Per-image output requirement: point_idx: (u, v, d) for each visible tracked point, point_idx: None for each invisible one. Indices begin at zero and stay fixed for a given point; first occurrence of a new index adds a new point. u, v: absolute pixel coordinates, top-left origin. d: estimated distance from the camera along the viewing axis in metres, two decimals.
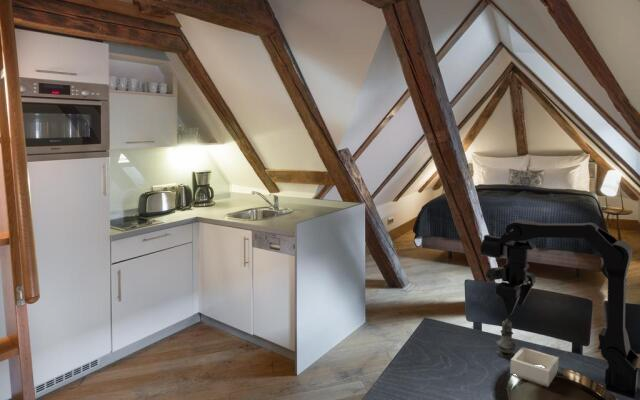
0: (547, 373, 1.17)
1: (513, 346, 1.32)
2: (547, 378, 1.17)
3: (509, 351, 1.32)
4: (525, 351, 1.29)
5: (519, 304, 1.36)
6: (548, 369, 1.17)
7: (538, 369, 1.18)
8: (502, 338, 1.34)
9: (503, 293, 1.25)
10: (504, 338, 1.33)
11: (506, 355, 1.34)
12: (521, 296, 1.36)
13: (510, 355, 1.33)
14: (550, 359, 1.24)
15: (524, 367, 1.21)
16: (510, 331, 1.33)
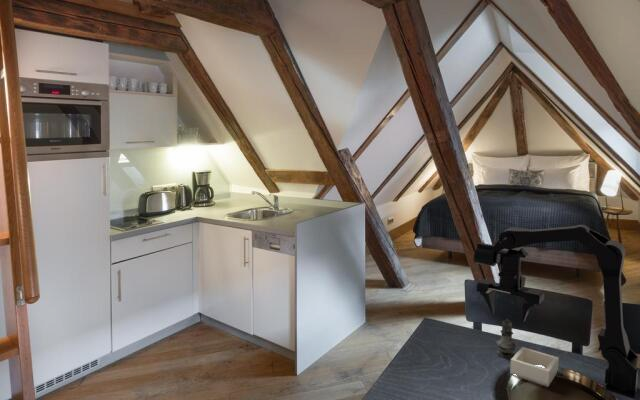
0: (547, 373, 1.17)
1: (513, 346, 1.32)
2: (547, 378, 1.17)
3: (509, 351, 1.32)
4: (525, 351, 1.29)
5: None
6: (548, 369, 1.17)
7: (538, 369, 1.18)
8: (502, 338, 1.34)
9: None
10: (504, 338, 1.33)
11: (506, 355, 1.34)
12: None
13: (510, 355, 1.33)
14: (550, 359, 1.24)
15: (524, 367, 1.21)
16: (510, 331, 1.33)
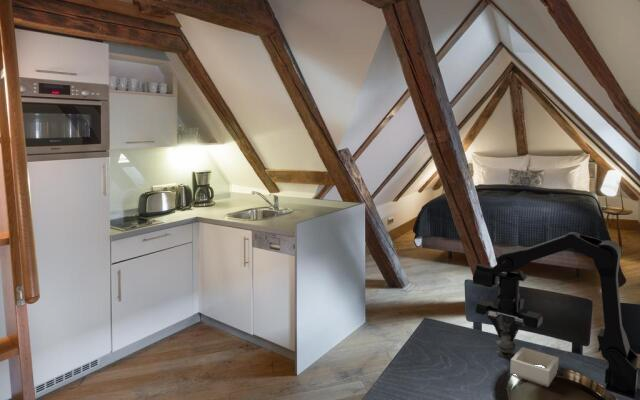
0: (547, 373, 1.17)
1: (513, 346, 1.32)
2: (547, 378, 1.17)
3: (509, 351, 1.32)
4: (525, 351, 1.29)
5: None
6: (548, 369, 1.17)
7: (538, 369, 1.18)
8: (502, 338, 1.34)
9: None
10: (504, 338, 1.33)
11: (506, 355, 1.34)
12: None
13: (510, 355, 1.33)
14: (550, 359, 1.24)
15: (524, 367, 1.21)
16: (510, 331, 1.33)
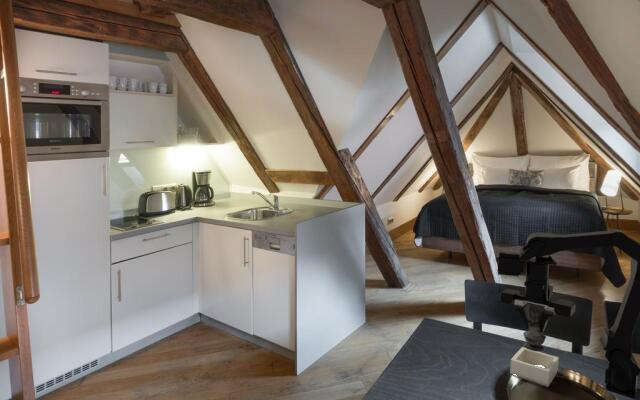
0: (547, 373, 1.17)
1: (542, 338, 1.21)
2: (547, 378, 1.17)
3: (538, 343, 1.21)
4: (525, 351, 1.29)
5: None
6: (548, 369, 1.17)
7: (538, 369, 1.18)
8: (530, 329, 1.23)
9: None
10: (533, 330, 1.22)
11: (534, 347, 1.22)
12: None
13: (539, 348, 1.22)
14: (550, 359, 1.24)
15: (524, 367, 1.21)
16: (539, 321, 1.21)
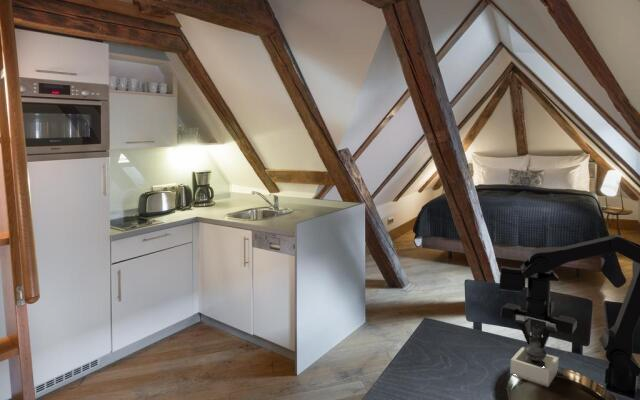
0: (547, 373, 1.17)
1: (544, 353, 1.21)
2: (547, 378, 1.17)
3: (539, 359, 1.21)
4: None
5: None
6: (548, 369, 1.17)
7: (538, 369, 1.18)
8: (531, 344, 1.22)
9: None
10: (534, 345, 1.22)
11: (535, 363, 1.22)
12: None
13: (540, 363, 1.22)
14: (550, 359, 1.24)
15: (524, 367, 1.21)
16: (540, 337, 1.21)
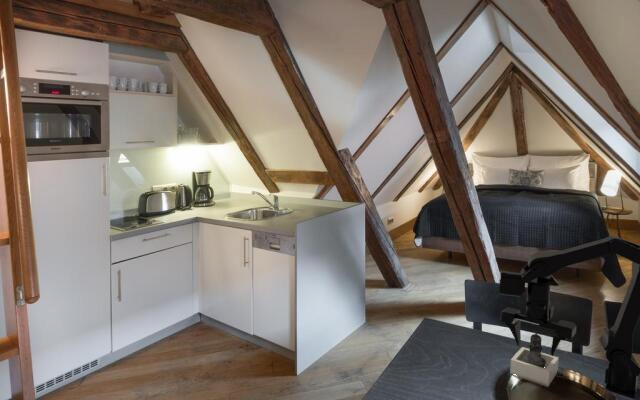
0: (547, 373, 1.17)
1: (543, 362, 1.21)
2: (547, 378, 1.17)
3: None
4: (525, 351, 1.29)
5: None
6: (548, 369, 1.17)
7: (538, 369, 1.18)
8: (530, 354, 1.23)
9: None
10: (533, 354, 1.22)
11: None
12: None
13: None
14: (550, 359, 1.24)
15: (524, 367, 1.21)
16: (539, 346, 1.22)
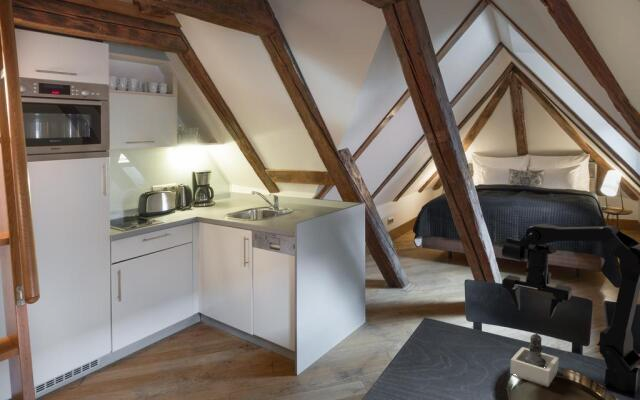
0: (547, 373, 1.17)
1: (543, 362, 1.21)
2: (547, 378, 1.17)
3: None
4: (525, 351, 1.29)
5: None
6: (548, 369, 1.17)
7: (538, 369, 1.18)
8: (530, 354, 1.23)
9: None
10: (533, 354, 1.22)
11: None
12: None
13: None
14: (550, 359, 1.24)
15: (524, 367, 1.21)
16: (540, 346, 1.22)
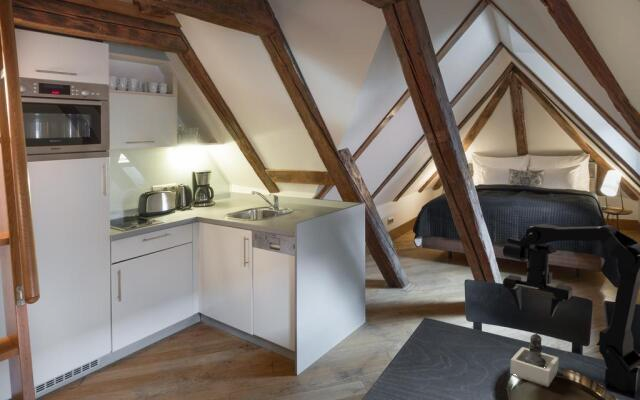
0: (547, 373, 1.17)
1: (543, 362, 1.21)
2: (547, 378, 1.17)
3: None
4: (525, 351, 1.29)
5: None
6: (548, 369, 1.17)
7: (538, 369, 1.18)
8: (530, 354, 1.23)
9: None
10: (533, 354, 1.22)
11: None
12: None
13: None
14: (550, 359, 1.24)
15: (524, 367, 1.21)
16: (539, 346, 1.22)
